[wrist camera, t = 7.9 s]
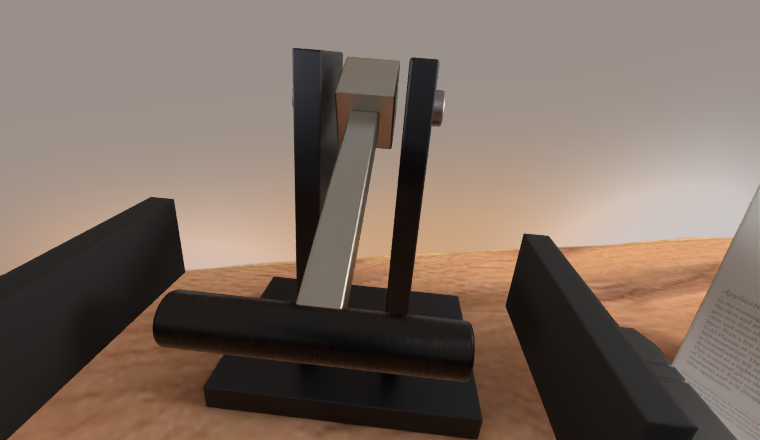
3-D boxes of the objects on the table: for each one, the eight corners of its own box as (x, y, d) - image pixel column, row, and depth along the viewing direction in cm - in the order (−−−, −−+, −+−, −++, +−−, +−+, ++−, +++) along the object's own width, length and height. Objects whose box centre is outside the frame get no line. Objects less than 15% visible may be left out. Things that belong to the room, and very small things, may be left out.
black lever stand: (478, 440, 16) (574, 69, 10) (205, 407, 17) (147, 35, 11) (455, 311, 24) (501, 65, 18) (274, 291, 25) (262, 46, 19)
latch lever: (459, 397, 9) (484, 359, 7) (175, 364, 9) (130, 319, 7) (449, 116, 17) (459, 64, 15) (296, 103, 17) (289, 51, 15)
